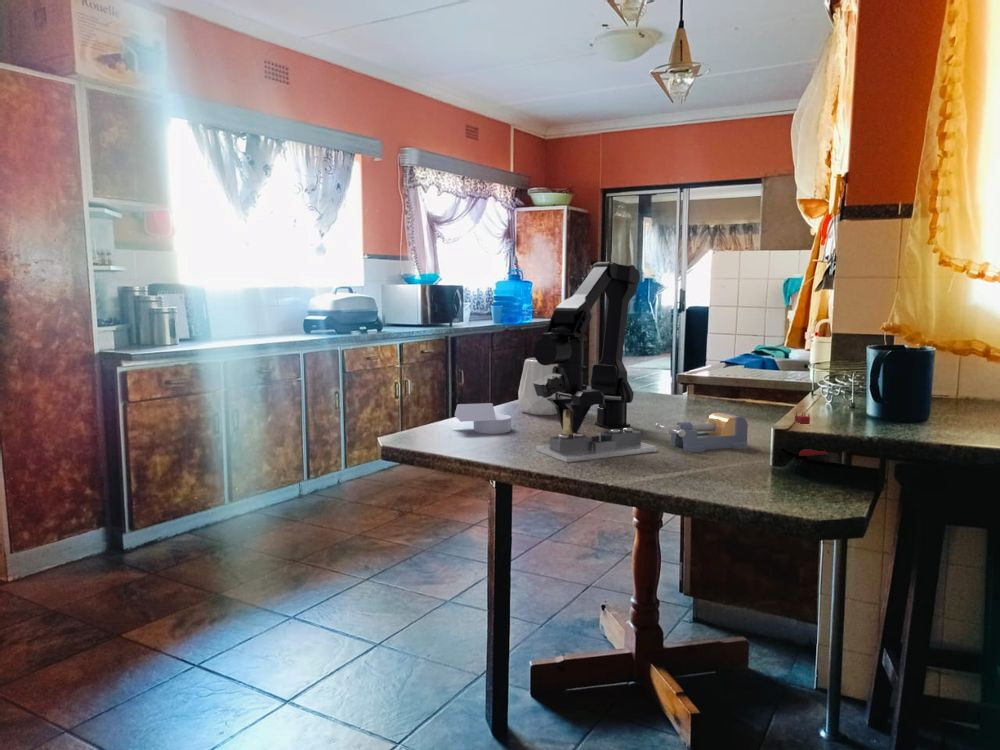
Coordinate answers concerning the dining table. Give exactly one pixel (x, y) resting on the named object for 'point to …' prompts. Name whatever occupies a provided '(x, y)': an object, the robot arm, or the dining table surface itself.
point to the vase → (527, 391)
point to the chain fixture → (596, 445)
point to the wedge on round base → (483, 418)
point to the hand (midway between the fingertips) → (569, 431)
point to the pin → (567, 422)
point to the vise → (709, 433)
